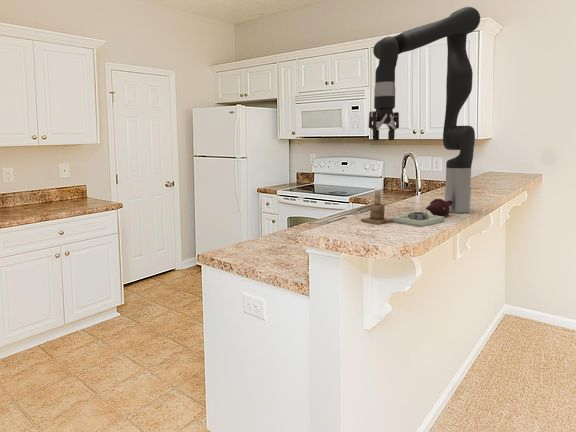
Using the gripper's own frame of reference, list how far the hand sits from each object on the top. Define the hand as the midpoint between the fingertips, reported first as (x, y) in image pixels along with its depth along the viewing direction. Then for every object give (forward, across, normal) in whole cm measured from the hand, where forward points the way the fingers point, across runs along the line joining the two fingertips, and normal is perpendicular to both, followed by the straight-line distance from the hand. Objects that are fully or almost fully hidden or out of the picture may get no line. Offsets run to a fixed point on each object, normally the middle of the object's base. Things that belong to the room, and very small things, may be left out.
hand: (383, 140), depth 172 cm
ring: (+28, -2, -18) cm, 33 cm away
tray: (+28, -2, -18) cm, 33 cm away
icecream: (+28, +13, -16) cm, 35 cm away
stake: (+28, -12, -8) cm, 32 cm away
